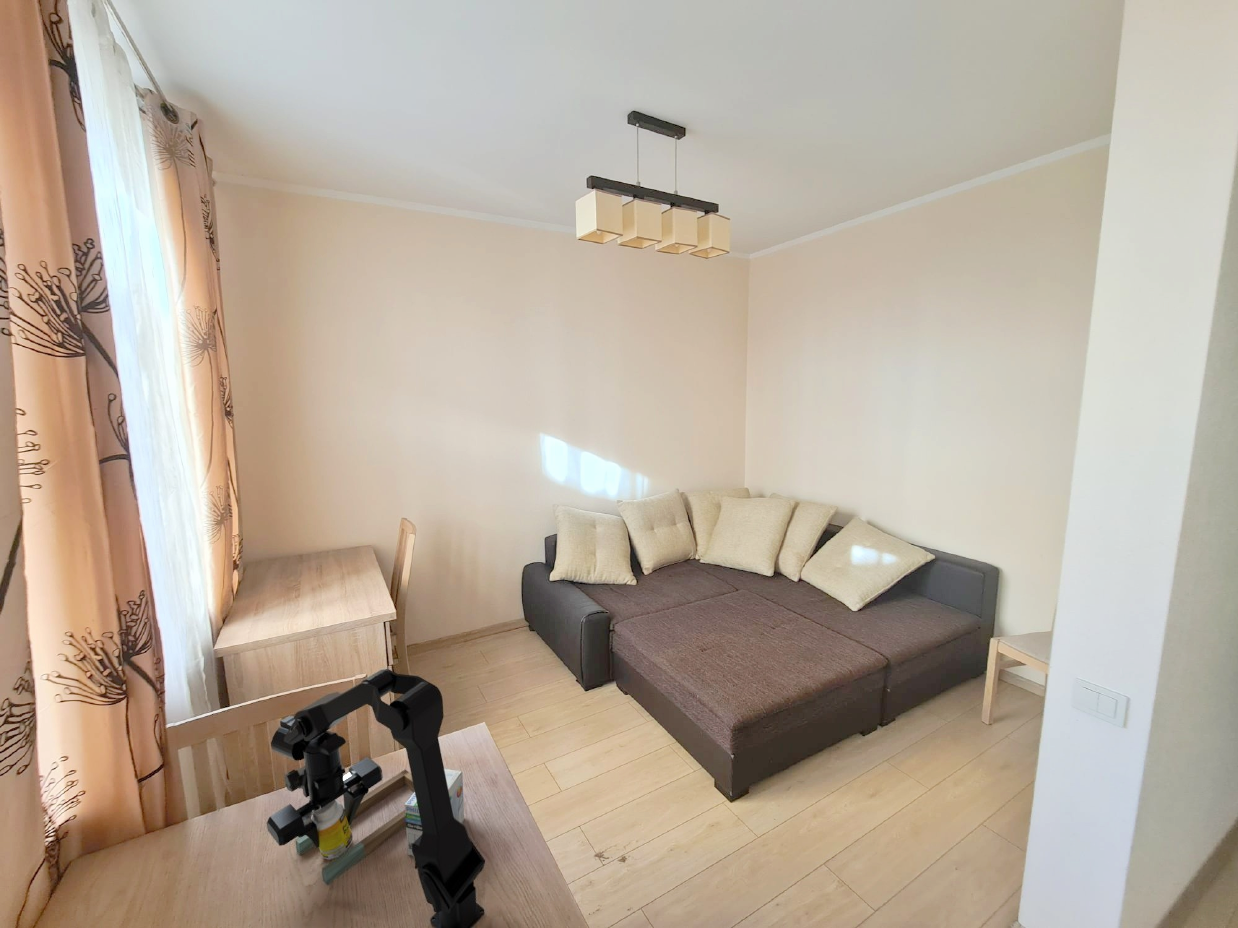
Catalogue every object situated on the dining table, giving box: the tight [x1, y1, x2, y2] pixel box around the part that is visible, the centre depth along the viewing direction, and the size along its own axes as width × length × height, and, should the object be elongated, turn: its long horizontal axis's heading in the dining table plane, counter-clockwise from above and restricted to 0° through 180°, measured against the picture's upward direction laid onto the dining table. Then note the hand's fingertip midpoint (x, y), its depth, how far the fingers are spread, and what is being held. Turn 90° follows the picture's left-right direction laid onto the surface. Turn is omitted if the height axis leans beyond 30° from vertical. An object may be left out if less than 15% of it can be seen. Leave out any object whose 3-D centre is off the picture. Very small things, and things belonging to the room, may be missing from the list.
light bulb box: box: [404, 768, 465, 857], centre depth 102 cm, size 11×7×11 cm, turn 168°
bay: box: [295, 769, 415, 886], centre depth 105 cm, size 12×23×2 cm, turn 144°
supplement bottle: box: [311, 799, 354, 860], centre depth 99 cm, size 6×6×10 cm
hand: (333, 835), depth 99 cm, fingers closed on supplement bottle, 5 cm apart
